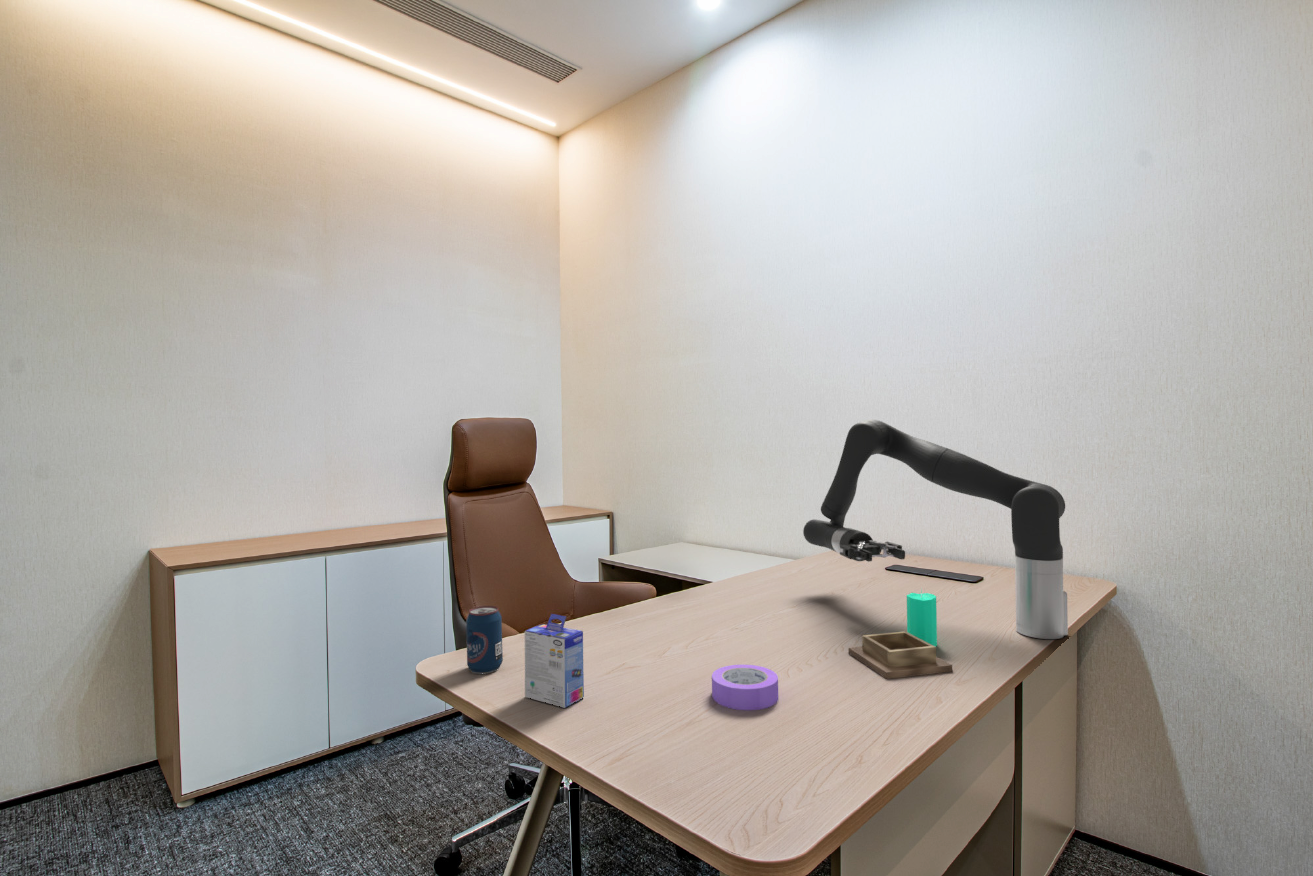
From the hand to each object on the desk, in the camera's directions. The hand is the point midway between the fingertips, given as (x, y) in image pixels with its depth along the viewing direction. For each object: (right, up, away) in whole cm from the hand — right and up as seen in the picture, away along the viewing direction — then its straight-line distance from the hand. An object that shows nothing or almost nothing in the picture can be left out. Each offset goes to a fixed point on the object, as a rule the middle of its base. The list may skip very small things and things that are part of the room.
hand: (887, 556), depth 149 cm
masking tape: (-39, -18, -37) cm, 56 cm away
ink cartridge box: (-73, -19, -36) cm, 83 cm away
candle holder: (-6, -17, -22) cm, 29 cm away
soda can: (-89, -19, -21) cm, 93 cm away
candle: (+3, -17, -12) cm, 21 cm away
